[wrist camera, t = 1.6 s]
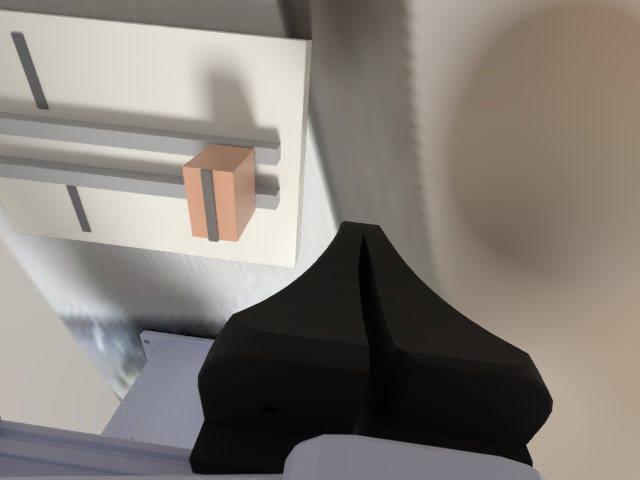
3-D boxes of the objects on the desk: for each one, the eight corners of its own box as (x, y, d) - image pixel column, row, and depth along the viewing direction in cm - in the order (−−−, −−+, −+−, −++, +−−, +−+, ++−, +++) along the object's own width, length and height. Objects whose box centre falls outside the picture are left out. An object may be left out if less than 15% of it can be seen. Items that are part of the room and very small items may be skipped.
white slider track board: (299, 249, 22) (291, 278, 19) (41, 217, 23) (1, 240, 20) (312, 40, 15) (302, 41, 13) (-51, 3, 16) (-127, -1, 14)
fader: (259, 202, 18) (235, 244, 14) (223, 198, 18) (190, 238, 14) (258, 143, 16) (231, 174, 12) (218, 138, 16) (179, 168, 12)
